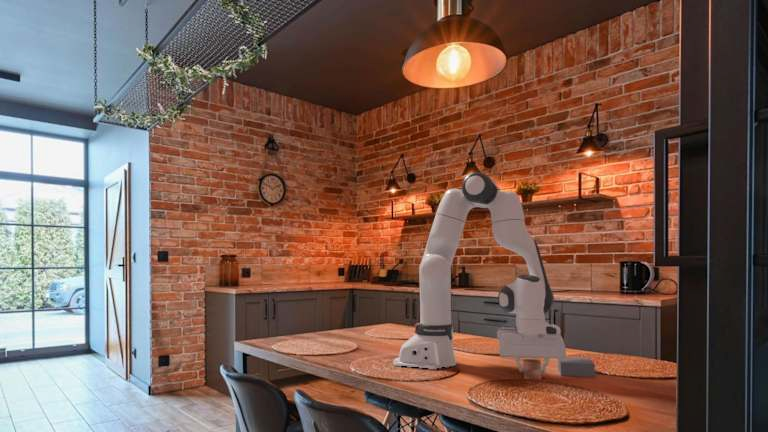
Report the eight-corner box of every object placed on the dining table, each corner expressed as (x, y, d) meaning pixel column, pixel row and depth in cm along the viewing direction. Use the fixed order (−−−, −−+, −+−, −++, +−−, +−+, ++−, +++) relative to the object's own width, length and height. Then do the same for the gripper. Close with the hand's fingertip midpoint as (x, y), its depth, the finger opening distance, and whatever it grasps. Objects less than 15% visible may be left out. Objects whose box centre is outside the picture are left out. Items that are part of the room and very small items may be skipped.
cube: (524, 378, 151) (523, 362, 151) (523, 375, 156) (523, 359, 156) (541, 379, 149) (540, 363, 150) (540, 375, 154) (539, 359, 155)
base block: (561, 375, 154) (560, 362, 155) (557, 368, 164) (557, 356, 164) (595, 377, 152) (594, 364, 152) (589, 369, 162) (589, 357, 162)
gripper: (496, 327, 153) (498, 372, 152) (565, 329, 148) (567, 375, 147) (497, 325, 159) (498, 368, 158) (563, 326, 154) (565, 371, 153)
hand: (532, 371), depth 153 cm, fingers closed on cube, 5 cm apart
